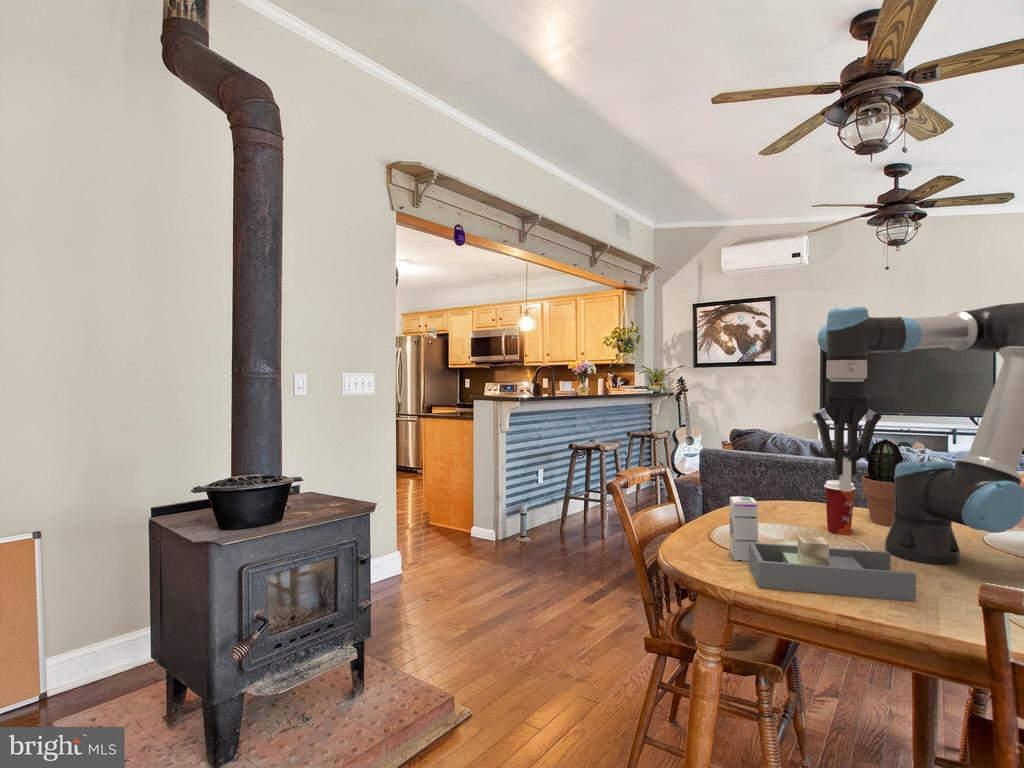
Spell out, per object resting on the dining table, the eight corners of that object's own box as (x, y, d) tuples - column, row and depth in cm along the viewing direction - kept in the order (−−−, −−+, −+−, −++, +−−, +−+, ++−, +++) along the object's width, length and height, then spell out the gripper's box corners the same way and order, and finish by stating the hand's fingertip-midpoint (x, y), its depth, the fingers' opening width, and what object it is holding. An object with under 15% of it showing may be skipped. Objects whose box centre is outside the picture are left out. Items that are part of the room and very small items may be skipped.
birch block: (822, 559, 126) (822, 537, 126) (828, 567, 122) (829, 544, 121) (797, 558, 128) (797, 535, 127) (802, 565, 123) (803, 542, 123)
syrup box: (758, 562, 137) (759, 502, 136) (732, 560, 138) (733, 501, 137) (753, 554, 142) (754, 496, 142) (728, 553, 143) (729, 495, 143)
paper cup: (854, 537, 155) (855, 486, 155) (822, 533, 159) (823, 483, 159) (855, 530, 162) (856, 481, 162) (824, 526, 166) (825, 478, 166)
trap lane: (888, 576, 127) (888, 551, 127) (915, 601, 114) (916, 574, 114) (748, 565, 135) (749, 542, 134) (758, 587, 121) (759, 562, 121)
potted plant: (928, 528, 163) (929, 441, 162) (880, 529, 163) (882, 442, 162) (895, 516, 177) (896, 435, 176) (851, 516, 177) (852, 436, 176)
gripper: (817, 380, 120) (816, 492, 121) (887, 380, 117) (886, 495, 117) (808, 379, 127) (807, 485, 128) (874, 379, 124) (872, 487, 125)
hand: (845, 490), depth 123 cm, fingers closed
